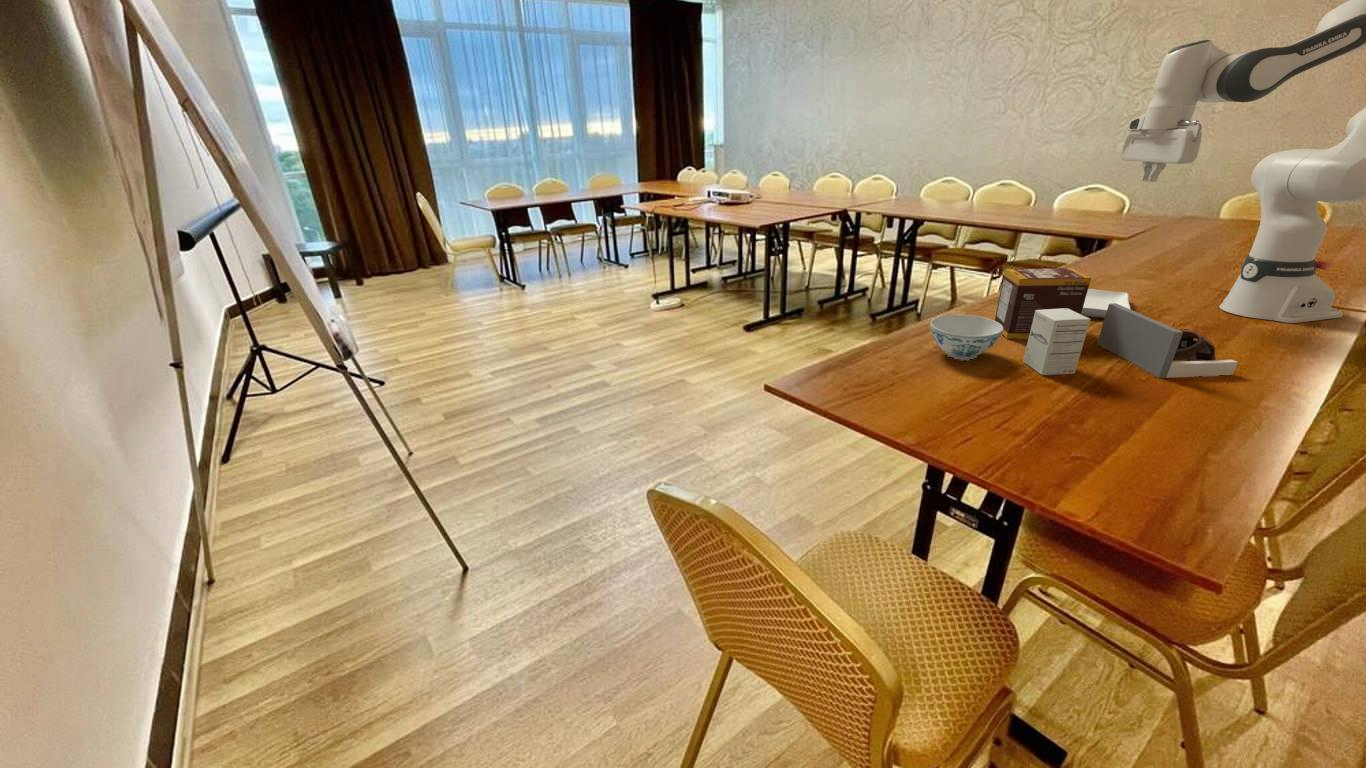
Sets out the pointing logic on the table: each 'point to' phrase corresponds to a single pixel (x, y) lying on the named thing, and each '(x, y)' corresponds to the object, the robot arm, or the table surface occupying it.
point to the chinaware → (965, 335)
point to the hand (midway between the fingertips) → (1148, 181)
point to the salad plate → (1102, 302)
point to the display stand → (1153, 345)
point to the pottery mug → (1194, 347)
